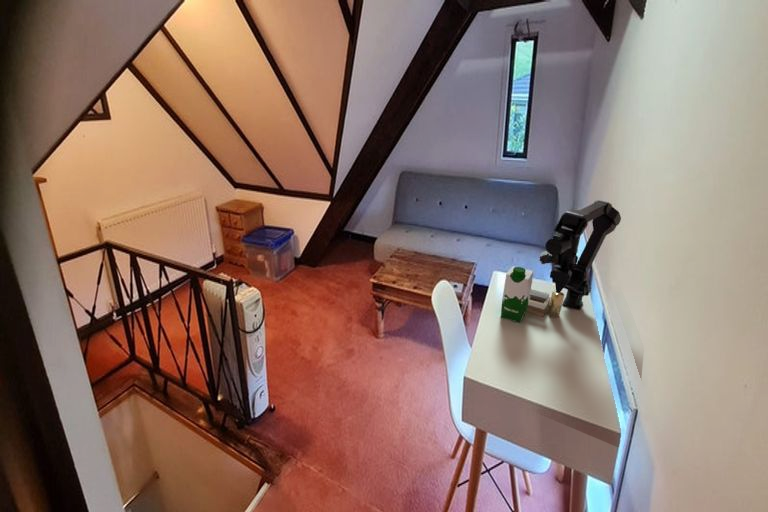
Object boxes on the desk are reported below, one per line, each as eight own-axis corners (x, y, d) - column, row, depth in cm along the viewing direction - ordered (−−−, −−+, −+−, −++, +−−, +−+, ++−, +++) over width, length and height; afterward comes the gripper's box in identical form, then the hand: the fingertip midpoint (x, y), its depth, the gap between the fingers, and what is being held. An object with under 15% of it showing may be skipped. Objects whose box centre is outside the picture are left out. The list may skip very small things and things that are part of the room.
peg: (549, 310, 149) (553, 290, 145) (560, 313, 147) (565, 293, 143) (546, 315, 146) (551, 294, 142) (558, 318, 144) (562, 297, 140)
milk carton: (497, 317, 144) (504, 268, 136) (504, 306, 151) (512, 259, 143) (521, 324, 140) (530, 275, 132) (528, 313, 147) (537, 265, 139)
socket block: (528, 298, 157) (531, 281, 154) (549, 304, 153) (553, 287, 150) (521, 309, 149) (524, 292, 146) (543, 316, 145) (546, 298, 142)
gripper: (549, 234, 146) (542, 271, 152) (538, 252, 131) (530, 292, 138) (582, 240, 140) (573, 278, 147) (573, 259, 126) (564, 301, 133)
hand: (560, 287), depth 141 cm, fingers open, 9 cm apart
